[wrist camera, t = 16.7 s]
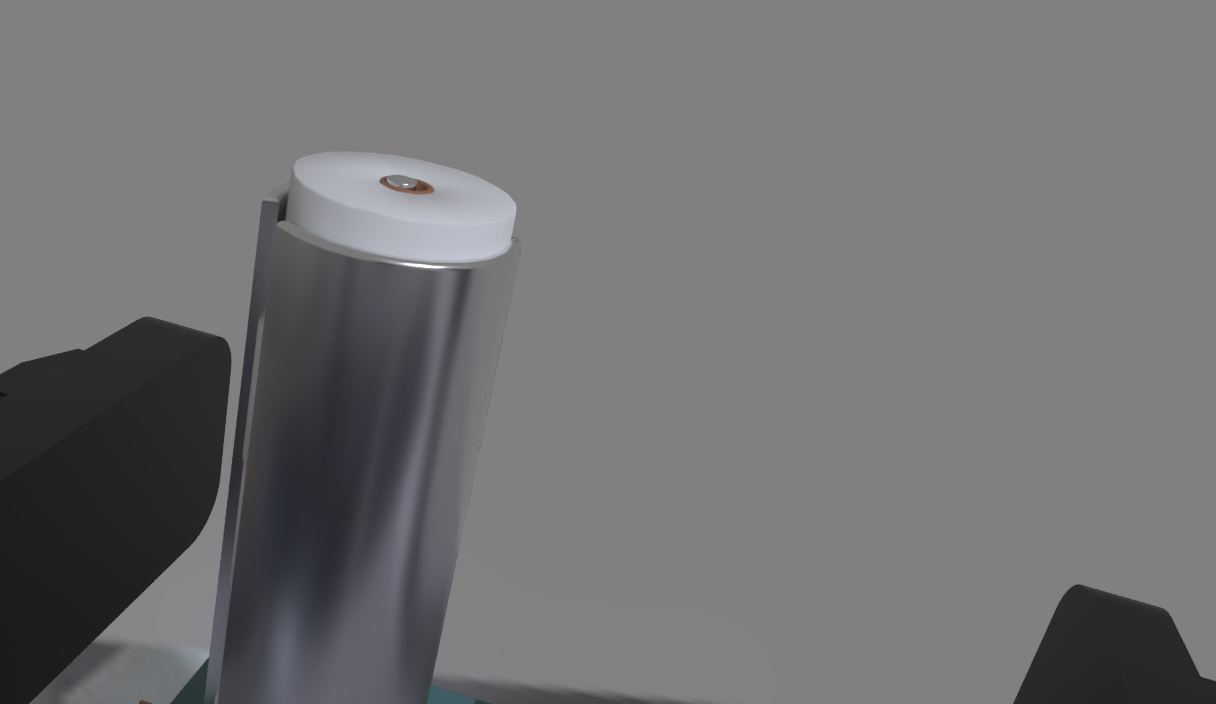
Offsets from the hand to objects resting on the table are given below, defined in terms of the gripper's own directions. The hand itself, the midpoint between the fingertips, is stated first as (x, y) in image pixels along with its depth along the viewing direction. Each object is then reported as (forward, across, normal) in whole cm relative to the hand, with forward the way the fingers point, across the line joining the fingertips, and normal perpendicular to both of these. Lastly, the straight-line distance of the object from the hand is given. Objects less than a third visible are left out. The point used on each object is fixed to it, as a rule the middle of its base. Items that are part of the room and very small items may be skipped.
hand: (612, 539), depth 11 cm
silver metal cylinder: (+17, +8, +28) cm, 33 cm away
